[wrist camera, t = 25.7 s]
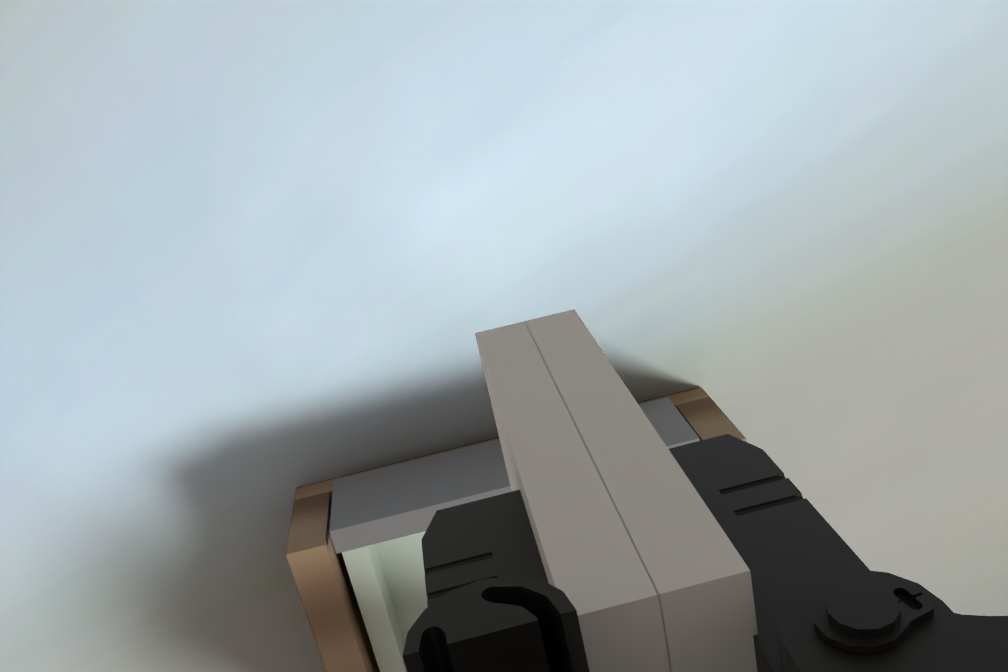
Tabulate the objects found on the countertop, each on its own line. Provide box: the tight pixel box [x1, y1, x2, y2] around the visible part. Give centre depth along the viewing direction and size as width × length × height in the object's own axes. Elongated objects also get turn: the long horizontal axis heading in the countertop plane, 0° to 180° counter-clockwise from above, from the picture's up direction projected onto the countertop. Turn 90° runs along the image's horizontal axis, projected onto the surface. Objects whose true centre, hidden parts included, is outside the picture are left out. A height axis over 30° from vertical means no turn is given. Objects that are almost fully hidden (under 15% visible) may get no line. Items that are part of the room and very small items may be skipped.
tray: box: [329, 397, 700, 672], centre depth 39 cm, size 19×14×4 cm
